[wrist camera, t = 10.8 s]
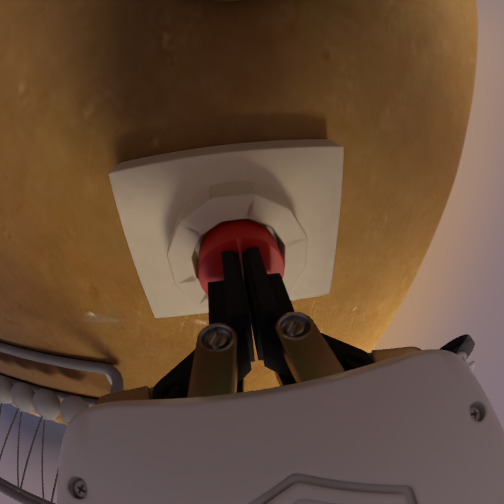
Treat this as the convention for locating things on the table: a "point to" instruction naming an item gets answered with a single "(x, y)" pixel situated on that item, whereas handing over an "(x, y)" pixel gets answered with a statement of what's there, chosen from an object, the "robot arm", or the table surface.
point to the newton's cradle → (46, 405)
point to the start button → (236, 249)
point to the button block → (230, 213)
